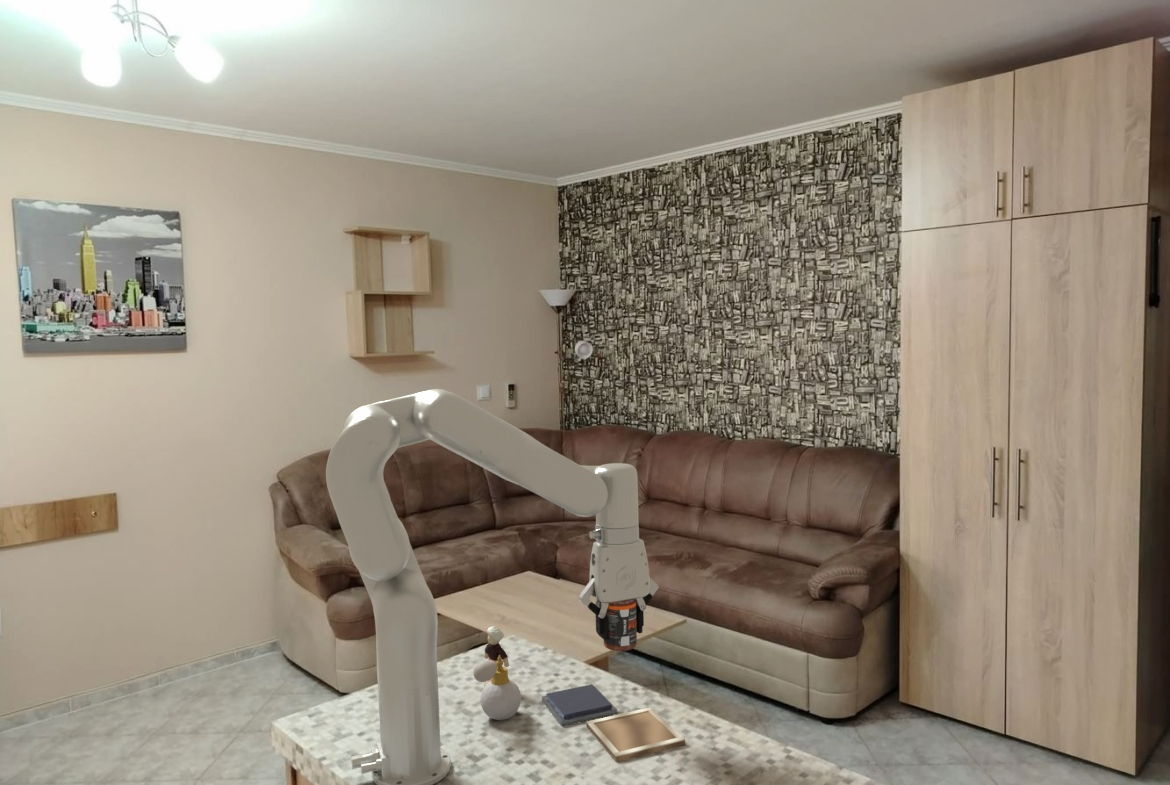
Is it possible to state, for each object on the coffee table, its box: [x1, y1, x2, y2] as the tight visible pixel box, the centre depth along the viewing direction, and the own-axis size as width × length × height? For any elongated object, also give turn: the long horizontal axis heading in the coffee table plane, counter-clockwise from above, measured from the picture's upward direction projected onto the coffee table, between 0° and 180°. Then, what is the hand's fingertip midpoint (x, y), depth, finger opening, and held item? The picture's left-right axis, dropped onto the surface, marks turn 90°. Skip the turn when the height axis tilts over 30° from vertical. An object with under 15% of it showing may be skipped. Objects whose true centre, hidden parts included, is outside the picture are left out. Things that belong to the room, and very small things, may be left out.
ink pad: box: [541, 683, 618, 727], centre depth 149 cm, size 11×11×2 cm
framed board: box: [585, 706, 686, 763], centre depth 138 cm, size 13×13×1 cm
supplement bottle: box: [602, 599, 638, 652], centre depth 139 cm, size 6×6×11 cm
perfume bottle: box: [472, 655, 522, 721], centre depth 145 cm, size 8×10×12 cm
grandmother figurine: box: [483, 625, 510, 688], centre depth 158 cm, size 8×4×13 cm, turn 55°
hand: (620, 633), depth 139 cm, fingers closed on supplement bottle, 6 cm apart
